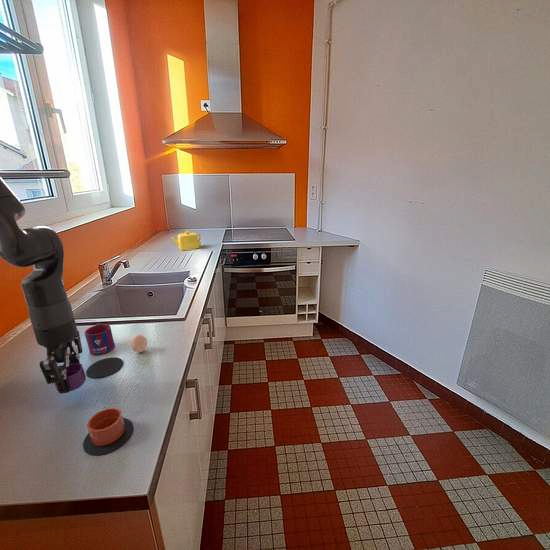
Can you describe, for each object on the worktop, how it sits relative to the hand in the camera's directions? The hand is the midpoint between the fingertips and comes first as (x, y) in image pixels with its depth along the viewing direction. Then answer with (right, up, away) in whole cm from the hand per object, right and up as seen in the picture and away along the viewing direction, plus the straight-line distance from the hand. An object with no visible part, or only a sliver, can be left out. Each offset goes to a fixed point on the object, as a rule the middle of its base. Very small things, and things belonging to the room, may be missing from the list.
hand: (71, 382), depth 71 cm
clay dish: (+15, -7, -10) cm, 19 cm away
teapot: (-13, +44, +140) cm, 147 cm away
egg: (+8, +2, +18) cm, 20 cm away
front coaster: (+15, -7, -10) cm, 19 cm away
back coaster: (+2, 0, +11) cm, 11 cm away
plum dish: (0, -1, 0) cm, 1 cm away
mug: (-5, +3, +22) cm, 22 cm away
